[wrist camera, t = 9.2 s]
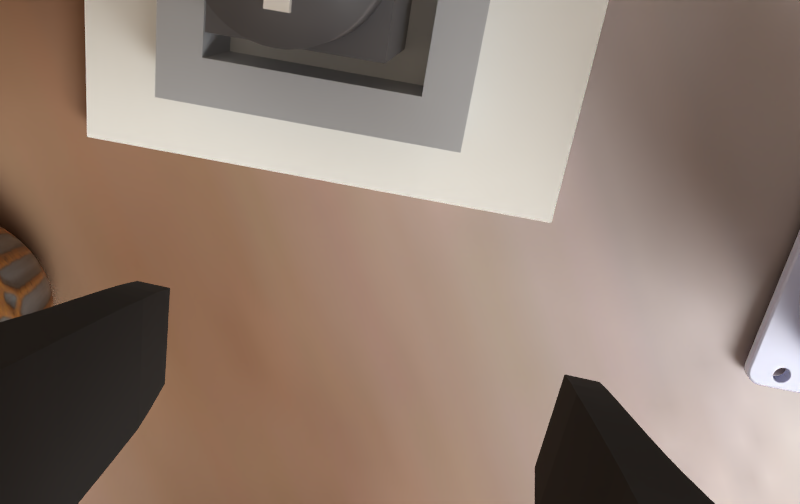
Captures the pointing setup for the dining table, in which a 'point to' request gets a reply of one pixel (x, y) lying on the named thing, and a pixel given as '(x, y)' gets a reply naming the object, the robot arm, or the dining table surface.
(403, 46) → the knob
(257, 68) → the hub panel
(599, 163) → the dining table surface
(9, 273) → the vase
